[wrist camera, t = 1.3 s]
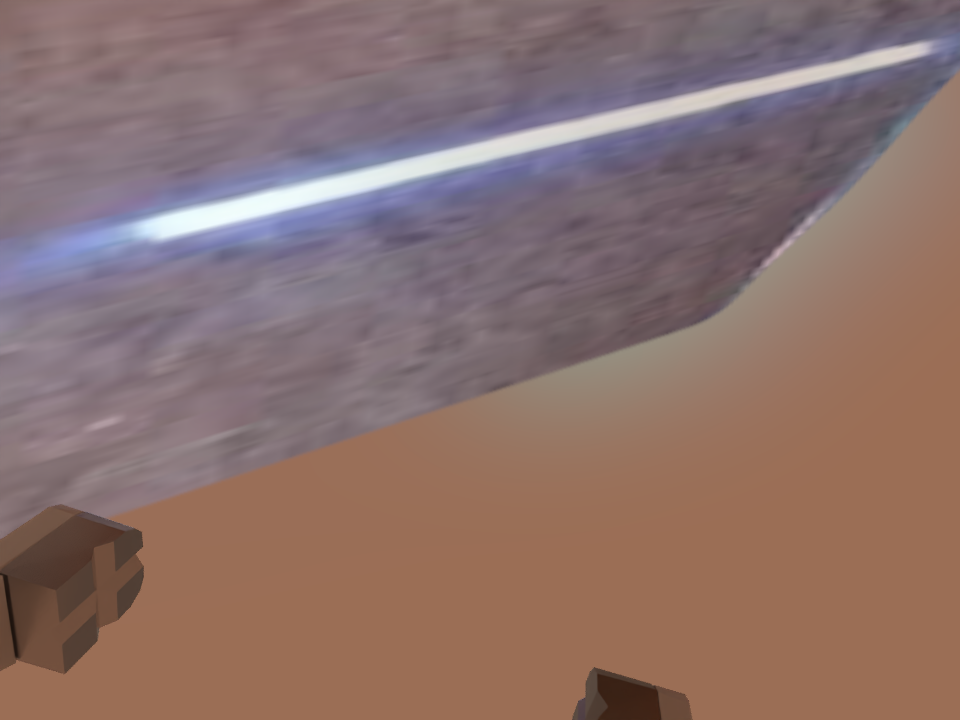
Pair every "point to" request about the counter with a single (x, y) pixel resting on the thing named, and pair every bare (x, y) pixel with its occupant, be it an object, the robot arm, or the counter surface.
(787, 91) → the counter surface
